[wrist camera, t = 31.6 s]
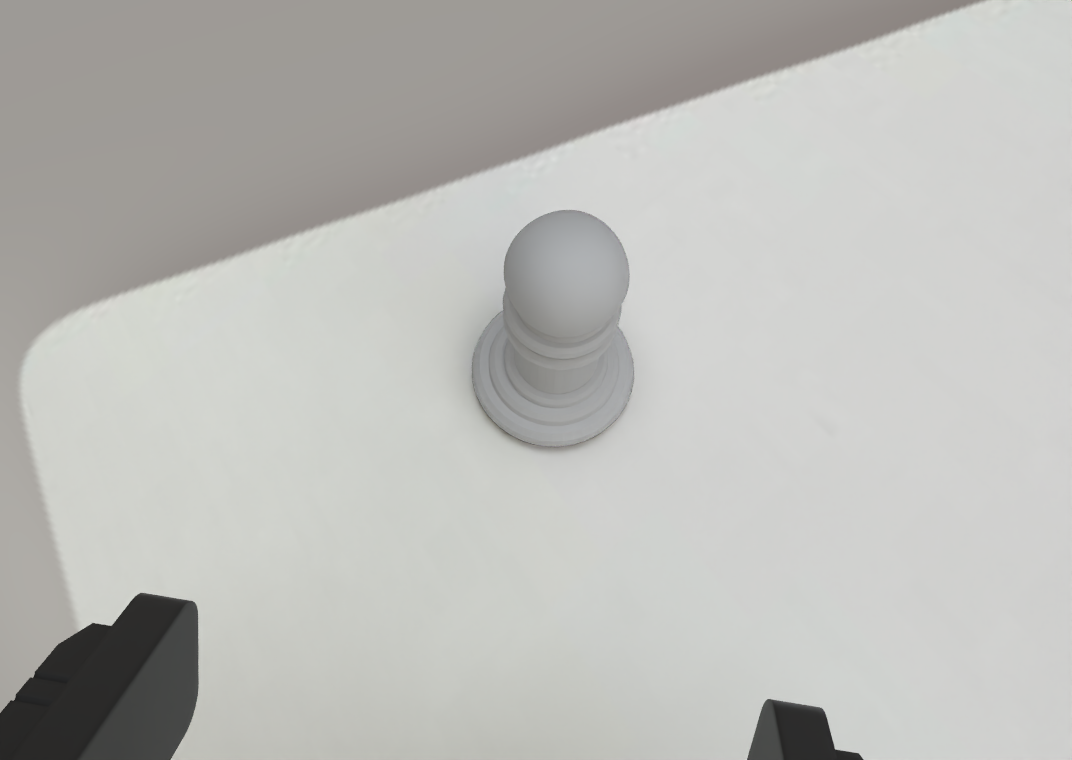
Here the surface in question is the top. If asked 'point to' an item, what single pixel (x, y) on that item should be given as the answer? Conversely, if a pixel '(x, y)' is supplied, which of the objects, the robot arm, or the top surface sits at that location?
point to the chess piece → (558, 334)
